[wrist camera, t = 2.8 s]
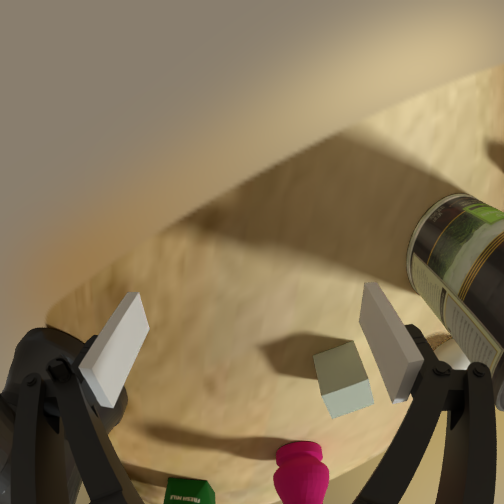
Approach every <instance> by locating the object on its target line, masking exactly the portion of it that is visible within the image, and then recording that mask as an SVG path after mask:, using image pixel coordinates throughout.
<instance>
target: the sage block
mask: <svg viewBox="0 0 504 504" xmlns="http://www.w3.org/2000/svg"><path fill="white" fill-rule="evenodd" d="M313 359H314V364H315V368H316V373H317V378H318V382H319V387H320V392H321V396H322V398H323V400H324V403H325V405H326V407H327V409H328V411H329V413H330V415H331V417H332V419H333V418H336V417H339V416H342V415H345V414H348V413H351V412H354V411H357V410H359V409H362V408H365V407H367V406H370V405H373V404H374V400H373V396H372V391H371V387H370V383H369V379H368V376H367V374H366V371H365V369H364V366H363V363H362V361H361V358H360V356H359V353H358V351H357V348H356V346H355V343H354V341H351V342H349V343H346V344H343V345H341V346H338V347H336V348H333V349H330V350H327V351H325V352H322V353H319V354H316V355H313Z"/></svg>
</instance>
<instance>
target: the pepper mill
mask: <svg viewBox="0 0 504 504" xmlns="http://www.w3.org/2000/svg"><path fill="white" fill-rule="evenodd" d="M322 458H323V456H322V449H321V446H320V445H319V444H317V443H314V442H308V441H302V442H294V443H290V444H287V445H284V446H282V447H281V448H279V449H278V451H277V452H276V463H277V465H278V466H279V468H278V469H277V470H276V472H275V473H274V476H273V481H274V486H275V489H276V491H277V493H278V495H279V497H280V499H281V500H282V502H283V504H323V499H324V496H325V493H326V490H327V487H328V483H329V470H328V468H327V466H326V465H325V464H324V463H322V462H320V461H321V460H322Z"/></svg>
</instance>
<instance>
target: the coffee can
mask: <svg viewBox="0 0 504 504" xmlns="http://www.w3.org/2000/svg"><path fill="white" fill-rule="evenodd" d="M406 265H407V274H408V278H409V281H410V283H411V285H412V287H413V289H414V290H415V291H416V292H417V293H418V294H419V295H420V296H421V297H422V298H423V299H424V301H425V302H426V303H427V304H428V306H429V307H430V308H431V309H432V311H433V312H434V313H435V315H436V316H437V317H438V318H439V320H440V321H441V322H442V324H443V325H444V326H445V328H446V329H447V331H448V332H449V333H450V334H451V336H452V337H453V339H454V340H455V341H456V343H457V344H458V345H459V347H460V348H461V350H462V351H463V353H464V354H465V355H466V357H467V358H468V360H469V361H470V363H472V362H481V363H484V364H485V365H487V367H488V368H489V369H490V372H491V378H492V386H493V394H494V403H495V405H496V407H497V409H498V410H500V411H504V213H503V212H501V211H499V210H498V209H496V208H493V207H492V206H489V205H487V204H485V203H483V202H482V201H479V200H478V199H477V198H475V197H473V196H470V195H467V194H454V195H450V196H448V197H445V198H443V199H441V200H440V201H438V202H437V203H435V204H434V205H433V206H432V207H431V208H430V209H429V210H428V211H427V212H426V213H425V215H424V216H423V217H422V218H421V220H420V221H419V223H418V224H417V226H416V228H415V230H414V232H413V235H412V237H411V240H410V243H409V247H408V251H407V262H406Z"/></svg>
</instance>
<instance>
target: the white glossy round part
mask: <svg viewBox="0 0 504 504" xmlns="http://www.w3.org/2000/svg"><path fill="white" fill-rule="evenodd" d="M434 353H435V355H436V356H437V358H438V360H439V361H444V362H446V363H448V364H449V365H450V366H451V367H452V369H455V370H467V368H468V366H469V365H470V361H469V360H468V358H467V357H466V355H465V354H464V353H463V351H462V350H461V348H460V347H459V345H458V344H457V343H456V341H455V340H454V339H453V338H452V339H449V340H447V341H446V342H444V343H442V344H441V345H440V346H438V347H437V348H436V349H435V350H434Z"/></svg>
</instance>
